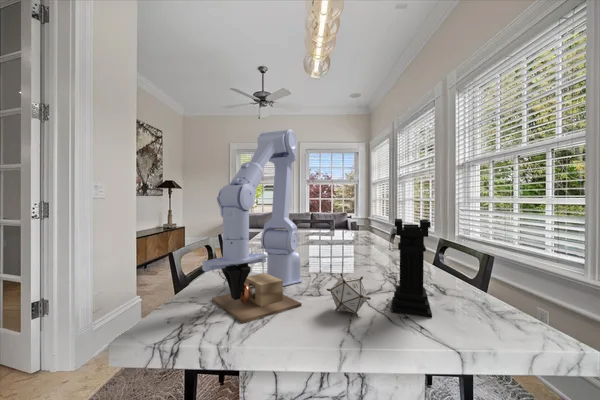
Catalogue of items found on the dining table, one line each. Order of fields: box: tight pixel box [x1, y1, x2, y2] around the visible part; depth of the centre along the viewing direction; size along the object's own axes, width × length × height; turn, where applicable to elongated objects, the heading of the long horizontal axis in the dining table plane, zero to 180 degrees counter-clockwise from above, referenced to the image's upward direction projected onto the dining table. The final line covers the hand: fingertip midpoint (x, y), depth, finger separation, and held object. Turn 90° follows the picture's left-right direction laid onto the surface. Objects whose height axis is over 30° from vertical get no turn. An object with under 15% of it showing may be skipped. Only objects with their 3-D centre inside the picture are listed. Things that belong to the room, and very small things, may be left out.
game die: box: [326, 272, 372, 318], centre depth 62 cm, size 9×8×10 cm
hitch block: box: [211, 272, 303, 324], centre depth 67 cm, size 15×16×5 cm
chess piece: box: [391, 218, 433, 319], centre depth 64 cm, size 8×8×20 cm
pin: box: [240, 283, 255, 303], centre depth 67 cm, size 10×4×4 cm, turn 128°
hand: (235, 298), depth 63 cm, fingers closed
